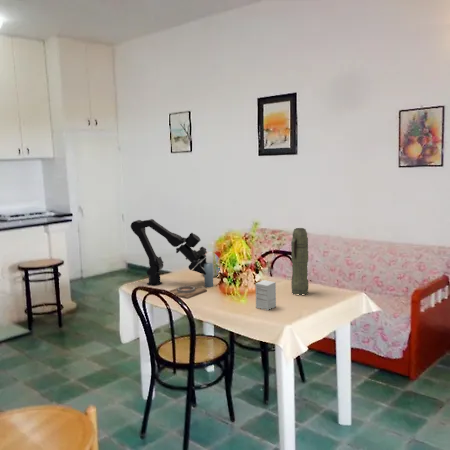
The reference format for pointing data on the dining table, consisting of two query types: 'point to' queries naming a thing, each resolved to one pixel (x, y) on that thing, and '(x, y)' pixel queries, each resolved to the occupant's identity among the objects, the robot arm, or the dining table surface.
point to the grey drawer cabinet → (265, 294)
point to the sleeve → (208, 274)
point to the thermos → (299, 261)
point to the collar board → (198, 291)
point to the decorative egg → (212, 258)
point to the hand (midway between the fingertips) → (208, 272)
